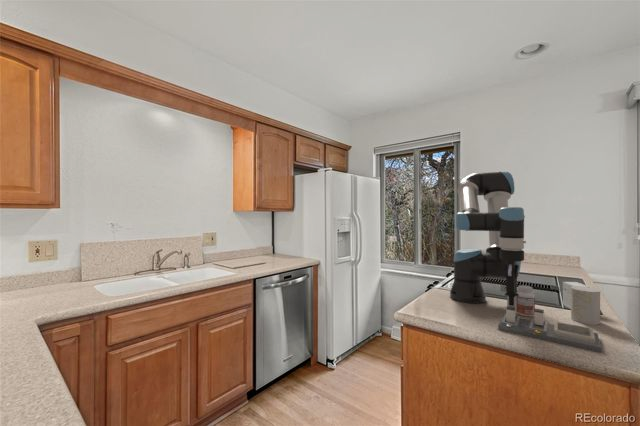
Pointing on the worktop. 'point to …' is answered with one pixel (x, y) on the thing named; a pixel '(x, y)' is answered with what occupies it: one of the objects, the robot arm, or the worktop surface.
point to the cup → (585, 305)
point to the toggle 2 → (539, 317)
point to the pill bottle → (525, 301)
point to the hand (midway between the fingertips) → (511, 313)
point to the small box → (569, 292)
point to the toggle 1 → (510, 314)
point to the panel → (554, 332)
